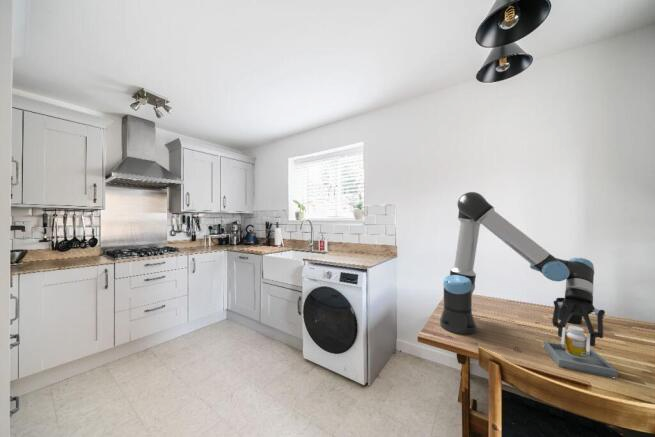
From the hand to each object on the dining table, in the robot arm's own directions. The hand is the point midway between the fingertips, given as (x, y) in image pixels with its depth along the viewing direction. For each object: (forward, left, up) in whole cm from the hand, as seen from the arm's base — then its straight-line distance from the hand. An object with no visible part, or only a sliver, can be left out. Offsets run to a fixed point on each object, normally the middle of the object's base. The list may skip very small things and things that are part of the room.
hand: (575, 349), depth 82 cm
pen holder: (+16, +48, -6) cm, 51 cm away
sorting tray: (+2, +3, -6) cm, 7 cm away
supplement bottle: (+2, +3, -4) cm, 5 cm away
